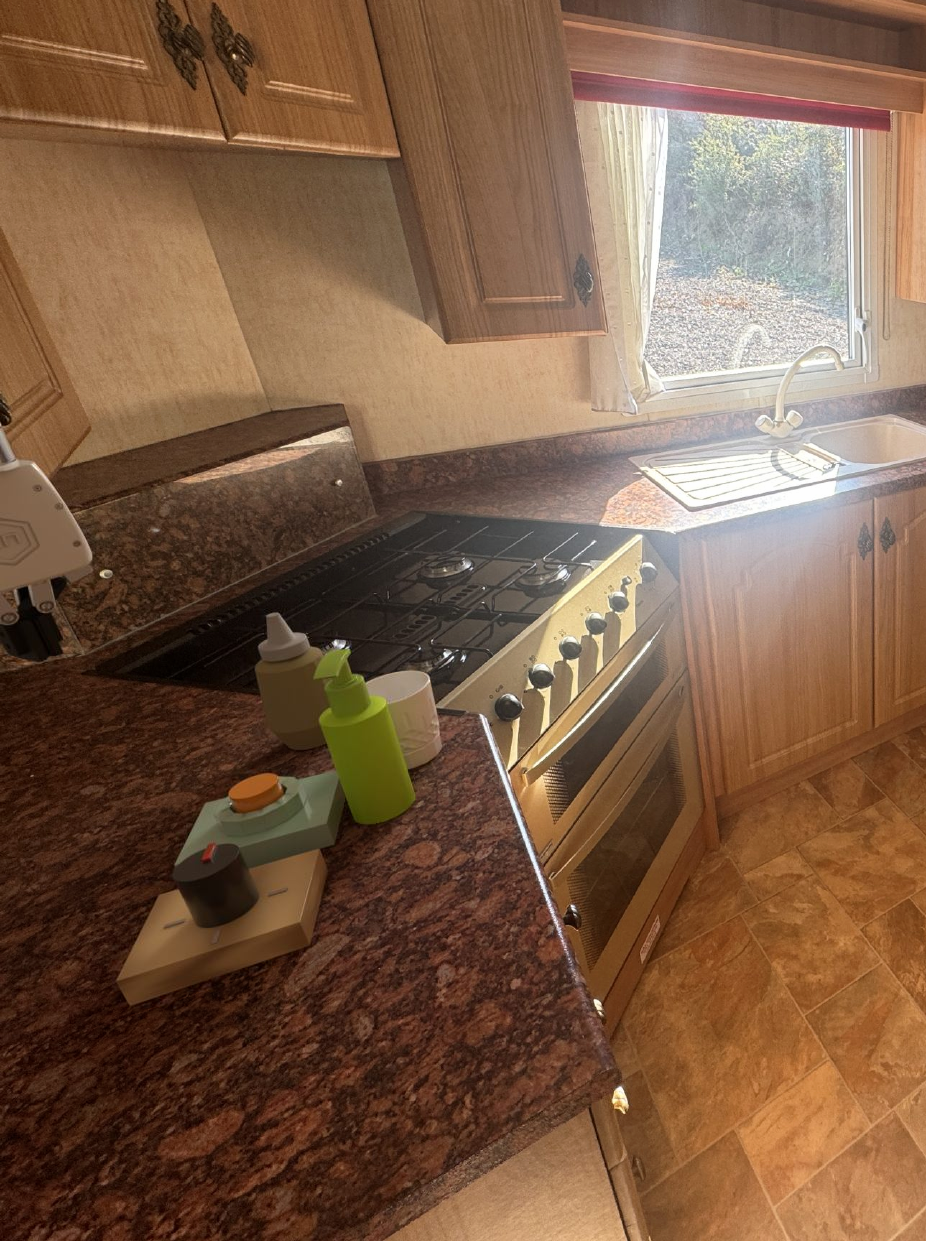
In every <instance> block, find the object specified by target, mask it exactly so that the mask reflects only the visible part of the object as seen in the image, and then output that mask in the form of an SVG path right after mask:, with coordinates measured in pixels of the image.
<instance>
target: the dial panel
mask: <svg viewBox="0 0 926 1241" xmlns="http://www.w3.org/2000/svg"><path fill="white" fill-rule="evenodd" d="M328 869H329V868H328V867H327V864H326V862H325V859H324V856H323V854H322V851H321V849H316V850H313V851H309V852H306V853H302V854H299V855H295V856H292V857H288V858H285V859H281V860H278V861H274V862H271V863H268V864H264V865H261V866H257V867H254V868H250V869H249V871H250V874H251V876H252V878H253V881H254V883H255V885H256V887H257V890H258V892H259V898H258V900H257V902H256V903H255V905H254V906H253V907H252V908H251V909H250V910H248V911H247V912H246V913H245V914H243V915H242V916H240V917H238V918H237V919H235V920H233V921H231V922H228V923H226V924H223V925H220V926H216V927H211V928H202V927H199V926H197V925H196V924H195V922H194V920H193V918H192V916H191V914H190V912H189V910H188V908H187V906H186V904H185V902H184V899H183V897H182V895H181V893H180V891H179V889H178V888H177V889H174V890H170V891H167V892H164V893H161V894H158V896H157V898H156V900H155V902H154V904H153V906H152V908H151V910H150V912H149V914H148V916H147V918H146V920H145V922H144V924H143V926H142V928H141V930H140V932H139V934H138V936H137V938H136V940H135V942H134V944H133V946H132V948H131V950H130V952H129V954H128V956H127V957H126V960H125V962H124V964H123V966H122V968H121V970H120V972H119V973H118V976H117V978H116V979H115V983H116V984H117V986H118V989H120V990H119V991H121V993H122V995H123V996H124V998H125V1000H126V1001H127V1004H128V1005H129V1007H131V1006H134V1005H135V1006H136V1005H138V1004H140V1003H143V1002H146V1001H150V1000H153V999H155V998H158V997H161V996H164V995H167V994H170V993H174V992H177V991H179V990H182V989H185V988H189V987H192V986H194V985H197V984H200V983H204V982H206V981H209V980H212V979H215V978H218V977H221V976H225V975H227V974H230V973H233V972H235V971H239V970H242V969H245V968H247V967H250V966H254V965H257V964H259V963H263V962H265V961H269V960H271V959H274V958H278V957H281V956H283V955H286V954H289V953H291V952H295V951H298V950H301V949H304V948H307V947H310V945H311V941H312V937H313V933H314V929H315V925H316V922H317V917H318V915H319V914H318V913H319V910H320V905H321V901H322V897H323V892H324V890H325V885H326V881H327V876H328V874H329V873H328V872H329V870H328Z"/></svg>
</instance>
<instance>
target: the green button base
mask: <svg viewBox="0 0 926 1241" xmlns="http://www.w3.org/2000/svg"><path fill="white" fill-rule="evenodd" d="M278 778H279V780H280V783H281V785H282V788H283V791H284V795H283V796H282V797H281V798H280V799H279V800H278V801H276V802H275V803H273V804H271V805H269V806H267V807H264V808H262V809H260V810H256V811H253V812H249V813H237V812H236V811H235V809H234V807H233V805H232V802H231V800H230V798H229V795H228V796H226V797H224V798H223V797H222V798H219V799H215V800H212V801H207V802H204V804H203V807H202V809H201V810H200V812H199V815H198V816H197V819H196V820H195V822H194V824H193V827H192V828H191V831H190V833H189V835H188V836H187V838H186V840H185V843H184V844H183V847H182V849H181V851H180V853H179V855H178V857H177V858H176V861H175V862H174V864H173V866H174V869H175V868H176V867H177V866H178V865H179V864H180V863H181V862H182V861H183V860H185V859H186V858H188V857H189V856H191V855H192V854H194V853H196V852H198V851H200V850H203V849H205V848H207V845H208V844H212V843H216V845H219V844H227V843H229V844H235V845H237V846H238V847H239V849H240V851H241V853H242V855H243V858H244V860H245V862H246V865H247V867H248V869H250V868H254V867H257V866H261V865H264V864H268V863H271V862H274V861H278V860H281V859H285V858H288V857H292V856H295V855H299V854H302V853H306V852H309V851H313V850H316V849H320V850H321V849H324V848H328V847H332V846H335V845H336V840H337V835H338V832H339V827H340V824H341V819H342V815H343V812H344V807H345V804H344V803H346V800H345V798H346V796H345V793H344V790H343V788H342V785H341V782H340V779H339V776H338V774H337V771H336V769H335V770H331V771H327V772H323V773H320V774H315V775H311V776H307V777H303V778H300V779H299V778H298V779H297V778H296V777H295V776H278Z"/></svg>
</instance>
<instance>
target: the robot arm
mask: <svg viewBox="0 0 926 1241" xmlns="http://www.w3.org/2000/svg"><path fill="white" fill-rule="evenodd" d="M92 561H93V552H92V550H91V547H90V545H89V542H88V541H87V539H86V537H85V535H84V533H83V530H82V529H81V528H80V526H79V524H78V522H77V521H76V519H75V517H74V516H73V514H72V512H71V510H70V509H69V507H68V505H67V504H66V502H65V501H64V500H63V498H62V497H61V495H60V494H59V492H58V491H57V489H56V488H55V486H54V485H53V484H52V482H51V481H50V479H49V478H48V476H47V475H46V474H45V473H44V472H43V470H42V469H41V468H40V467H39V466H38V465H37V463H36V462H35V461H34V460H28V459H27V460H26V459H18V458H17V455H16V453H15V451H14V449H13V447H12V444H11V442H10V440H9V438H8V436H7V433H6V431H5V429H4V427H3V426H2V423H1V422H0V643H1V645H2V647H3V649H4V650H5V652H6V653H7V654H8V655H9V656H11V657H13V658H14V657H15V658H18V659H21V660H24V661H25V660H26V661H30V662H34V663H41V662H45V661H47V660H48V659H49V658H50V657H58V656H61V655H64V650H63V648H62V646H61V644H60V642H63V641H64V636H63V634H62V632H61V630H60V627H59V626H58V623H57V622H56V620H55V617H54V615H53V613H52V612H54V611H55V609H56V608H57V603H56V601H57V600H58V599H59V597H60V595H61V594H62V593H63V591H64V590H65V588H66V587H67V586H68V585H69V584H73V583H74V582H77V581H78V580H81V579H83V578H85V577H87V576H89V575H90V574H92V573H93V571H94V566H93V565H91V562H92ZM8 592H13V596H14V600H15V604H16V606H17V607H16V610H17V611H16V610H15V608H14V607H13V606H12V605H11V603H10V602H9V601H8V600H7V598H6V597H5V596H4V595H3V594H5V593H8Z"/></svg>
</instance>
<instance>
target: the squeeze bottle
mask: <svg viewBox="0 0 926 1241" xmlns="http://www.w3.org/2000/svg"><path fill="white" fill-rule="evenodd" d="M266 635H267V636H266V637H267V639H265V640H263V641H262V642H260V643H259V644H258V646H257V650H258V652H259V655H260V658H261V659H260V660H259V661H258V662H257V664H256V665H255V667H254V672H255V676H256V677H255V678H256V681H257V685H258V690H259V694H260V699H261V702H262V703H261V704H262V708H263V712H264V716H265V721H266V725H267V728H268V729H269V730H270V732H272V734H274V735H275V736H276V738H277V739H279V740H280V741H281V742H282V743H283V744H284V745H285V746H287V748H288V749H289V750H294V751H306V750H311V749H315V748H319V747H322V746H324V745H327V743H326V740H325V737H324V734H323V731H322V729H321V726H320V723H319V717H320V716H321V714H322V713H323V712H324V711H326V710H327V709H328V708H330V705H329V702H328V699H327V696H326V693H325V690H324V687H325V685H326V684H327V683H328V682H329V681H331V680H332V678H328V679H322V680H316V681H315V680H314V679H313V678H314V674H315V671H316V669H317V666H318V664H319V663H320V661H321V660H322V658H323V657H324V656H325V654H324V652H323V651H322V650H321V649H320V648H318V647H315V646H311V645H310V641H309V640H308V636H307V635H306V634H305V633H303V632H293V631H292V630H291V628H290V626H289V625H288V624H287V622H286V621H285V619H284V618H283V617H282V615H281V614H280V613H279V612H272V613H269V614H267V615H266Z"/></svg>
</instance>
